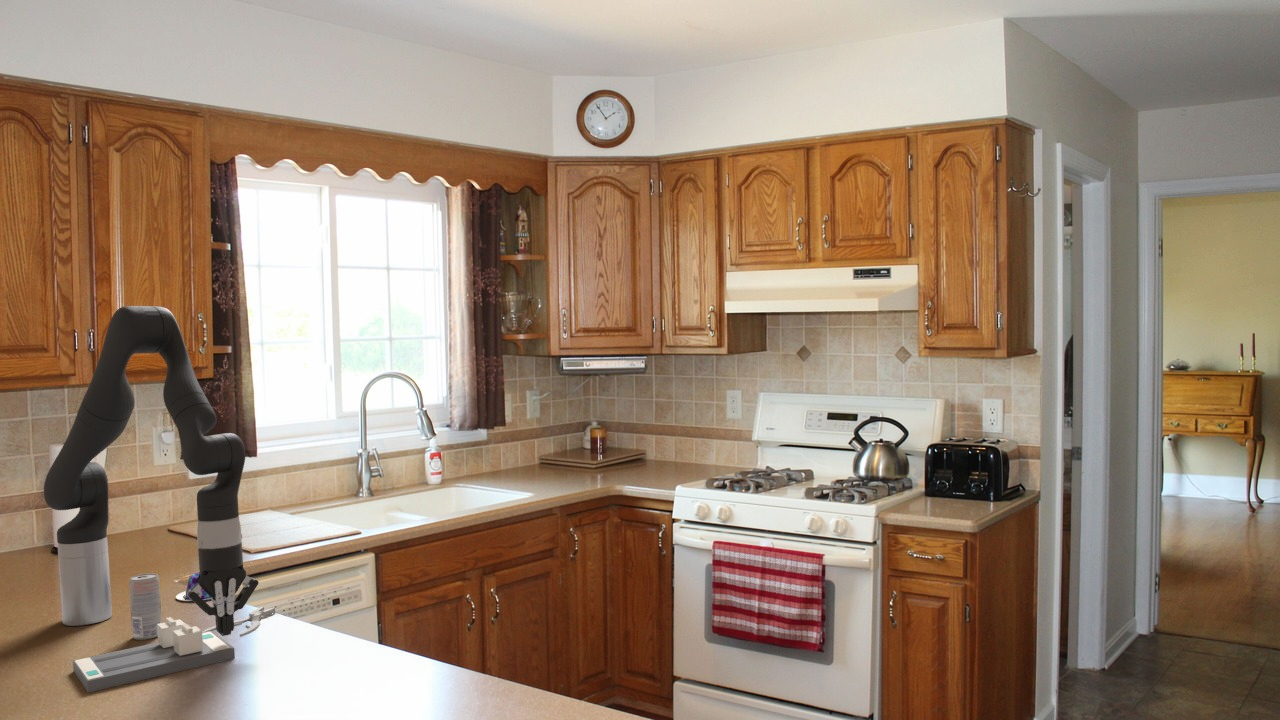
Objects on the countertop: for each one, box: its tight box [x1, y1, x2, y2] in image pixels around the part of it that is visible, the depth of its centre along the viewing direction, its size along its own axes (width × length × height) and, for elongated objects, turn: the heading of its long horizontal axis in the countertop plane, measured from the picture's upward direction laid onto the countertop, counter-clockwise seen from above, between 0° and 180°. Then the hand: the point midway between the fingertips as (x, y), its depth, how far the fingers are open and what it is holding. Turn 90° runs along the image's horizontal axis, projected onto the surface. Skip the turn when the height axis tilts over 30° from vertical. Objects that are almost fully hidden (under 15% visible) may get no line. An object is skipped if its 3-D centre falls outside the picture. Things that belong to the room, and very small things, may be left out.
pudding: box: [175, 571, 212, 602], centre depth 230 cm, size 12×12×5 cm
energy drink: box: [128, 572, 163, 641], centre depth 200 cm, size 5×5×12 cm
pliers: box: [202, 606, 276, 637], centre depth 207 cm, size 10×2×15 cm
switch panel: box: [72, 630, 236, 694], centre depth 183 cm, size 14×24×2 cm, turn 128°
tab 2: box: [173, 623, 203, 656], centre depth 183 cm, size 4×4×4 cm
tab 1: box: [157, 616, 186, 648], centre depth 188 cm, size 4×4×4 cm
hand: (225, 634), depth 187 cm, fingers closed
